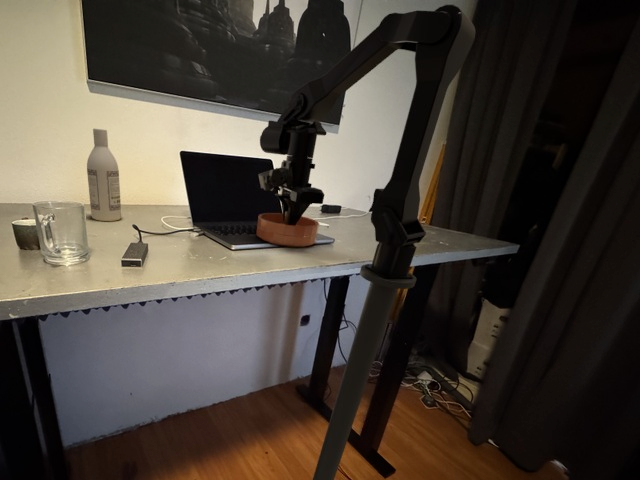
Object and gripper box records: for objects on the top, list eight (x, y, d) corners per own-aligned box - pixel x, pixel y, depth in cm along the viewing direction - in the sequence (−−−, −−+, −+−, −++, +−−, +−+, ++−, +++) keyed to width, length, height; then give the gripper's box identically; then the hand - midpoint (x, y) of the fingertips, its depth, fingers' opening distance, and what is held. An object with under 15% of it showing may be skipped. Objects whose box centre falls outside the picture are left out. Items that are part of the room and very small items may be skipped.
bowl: (325, 249, 76) (330, 227, 74) (266, 247, 72) (269, 225, 70) (300, 233, 89) (304, 214, 86) (249, 230, 85) (251, 211, 83)
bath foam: (122, 216, 86) (117, 131, 77) (120, 222, 80) (114, 130, 71) (93, 214, 84) (85, 127, 75) (89, 220, 78) (80, 126, 69)
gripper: (253, 151, 77) (246, 217, 84) (279, 155, 61) (268, 236, 68) (296, 156, 80) (286, 219, 87) (332, 161, 64) (316, 238, 71)
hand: (288, 227), depth 78 cm, fingers closed on scrub brush, 2 cm apart
